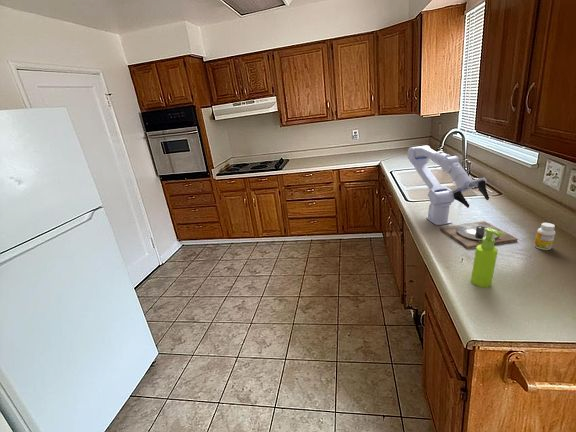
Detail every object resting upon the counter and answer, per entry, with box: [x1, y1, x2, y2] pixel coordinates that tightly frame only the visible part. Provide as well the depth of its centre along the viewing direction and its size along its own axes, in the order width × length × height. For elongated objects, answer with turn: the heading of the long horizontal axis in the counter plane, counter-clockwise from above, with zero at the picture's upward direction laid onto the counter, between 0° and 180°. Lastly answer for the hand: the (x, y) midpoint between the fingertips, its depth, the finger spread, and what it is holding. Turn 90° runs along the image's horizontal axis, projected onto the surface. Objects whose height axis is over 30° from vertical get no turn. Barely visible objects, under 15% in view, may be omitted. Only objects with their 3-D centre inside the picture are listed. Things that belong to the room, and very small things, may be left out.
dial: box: [456, 222, 499, 241], centre depth 131 cm, size 16×16×5 cm
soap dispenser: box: [470, 228, 505, 288], centre depth 99 cm, size 6×7×20 cm
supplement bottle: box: [533, 222, 556, 251], centre depth 117 cm, size 5×5×10 cm
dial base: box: [439, 220, 519, 250], centre depth 132 cm, size 19×22×2 cm
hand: (478, 202), depth 122 cm, fingers open, 7 cm apart
